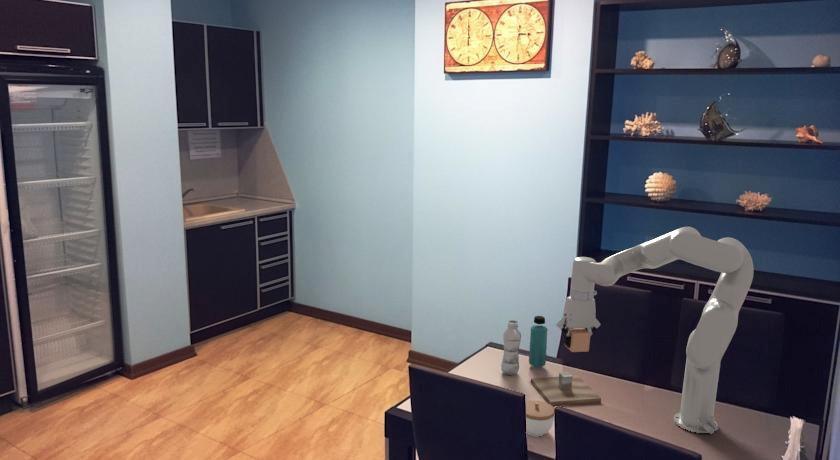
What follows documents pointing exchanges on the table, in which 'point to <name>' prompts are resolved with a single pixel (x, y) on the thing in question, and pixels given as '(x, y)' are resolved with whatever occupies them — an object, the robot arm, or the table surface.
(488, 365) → the table surface
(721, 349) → the robot arm
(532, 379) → the post board
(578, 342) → the natural wood cube
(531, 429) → the lidded jar
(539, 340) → the beverage bottle
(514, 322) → the plastic bottle
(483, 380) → the table surface
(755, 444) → the table surface
